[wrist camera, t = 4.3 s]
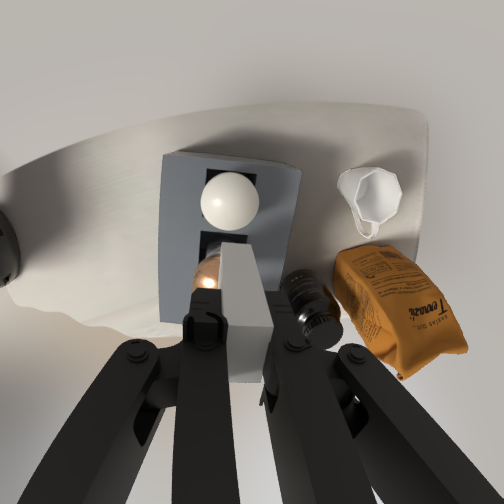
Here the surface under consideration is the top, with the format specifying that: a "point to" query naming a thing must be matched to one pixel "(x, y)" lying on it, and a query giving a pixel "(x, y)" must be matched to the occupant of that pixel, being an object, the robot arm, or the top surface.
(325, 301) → the supplement bottle
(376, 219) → the cup
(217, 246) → the brown lidded jar
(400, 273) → the coffee package
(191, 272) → the grey pod holder
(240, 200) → the knob
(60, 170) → the top surface
